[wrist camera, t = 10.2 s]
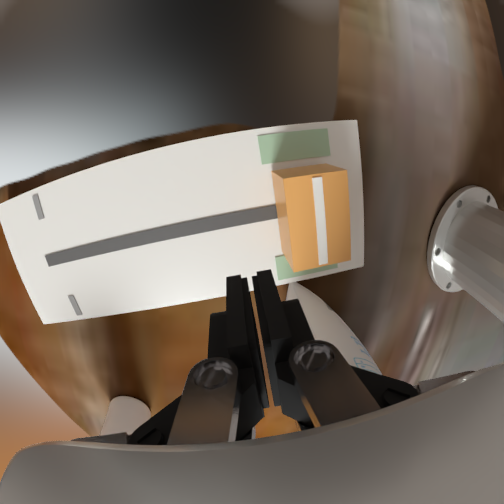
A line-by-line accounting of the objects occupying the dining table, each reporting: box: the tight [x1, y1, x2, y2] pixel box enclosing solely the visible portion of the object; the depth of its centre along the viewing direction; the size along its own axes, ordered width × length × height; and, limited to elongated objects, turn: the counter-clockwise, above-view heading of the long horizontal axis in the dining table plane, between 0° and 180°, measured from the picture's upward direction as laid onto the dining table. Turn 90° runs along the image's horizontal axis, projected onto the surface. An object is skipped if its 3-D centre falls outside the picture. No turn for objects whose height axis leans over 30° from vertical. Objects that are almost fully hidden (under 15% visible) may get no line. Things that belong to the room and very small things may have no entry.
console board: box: [0, 120, 364, 324], centre depth 21 cm, size 30×12×2 cm, turn 99°
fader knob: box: [271, 163, 351, 272], centre depth 19 cm, size 4×6×4 cm, turn 9°
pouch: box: [286, 282, 382, 375], centre depth 20 cm, size 8×19×20 cm, turn 20°
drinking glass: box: [99, 396, 151, 436], centre depth 23 cm, size 7×7×15 cm
